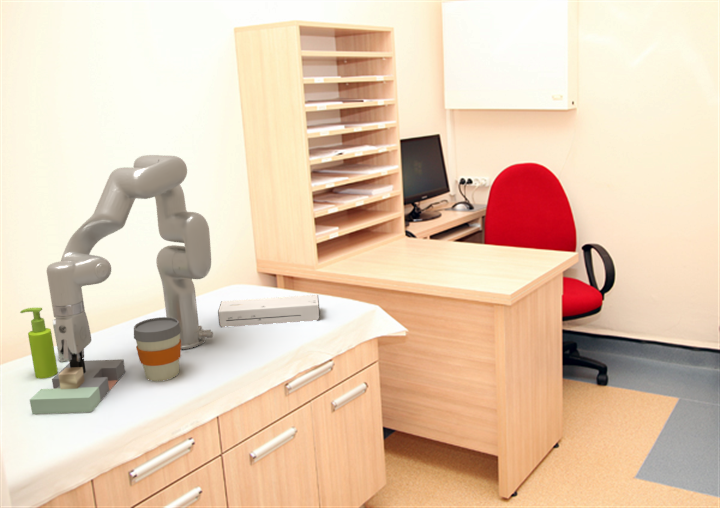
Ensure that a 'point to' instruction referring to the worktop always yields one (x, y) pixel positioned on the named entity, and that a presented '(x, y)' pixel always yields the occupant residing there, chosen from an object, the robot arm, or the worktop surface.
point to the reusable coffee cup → (159, 347)
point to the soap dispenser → (41, 346)
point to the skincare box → (61, 356)
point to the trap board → (79, 389)
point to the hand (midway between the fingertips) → (78, 373)
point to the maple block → (71, 378)
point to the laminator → (269, 310)
